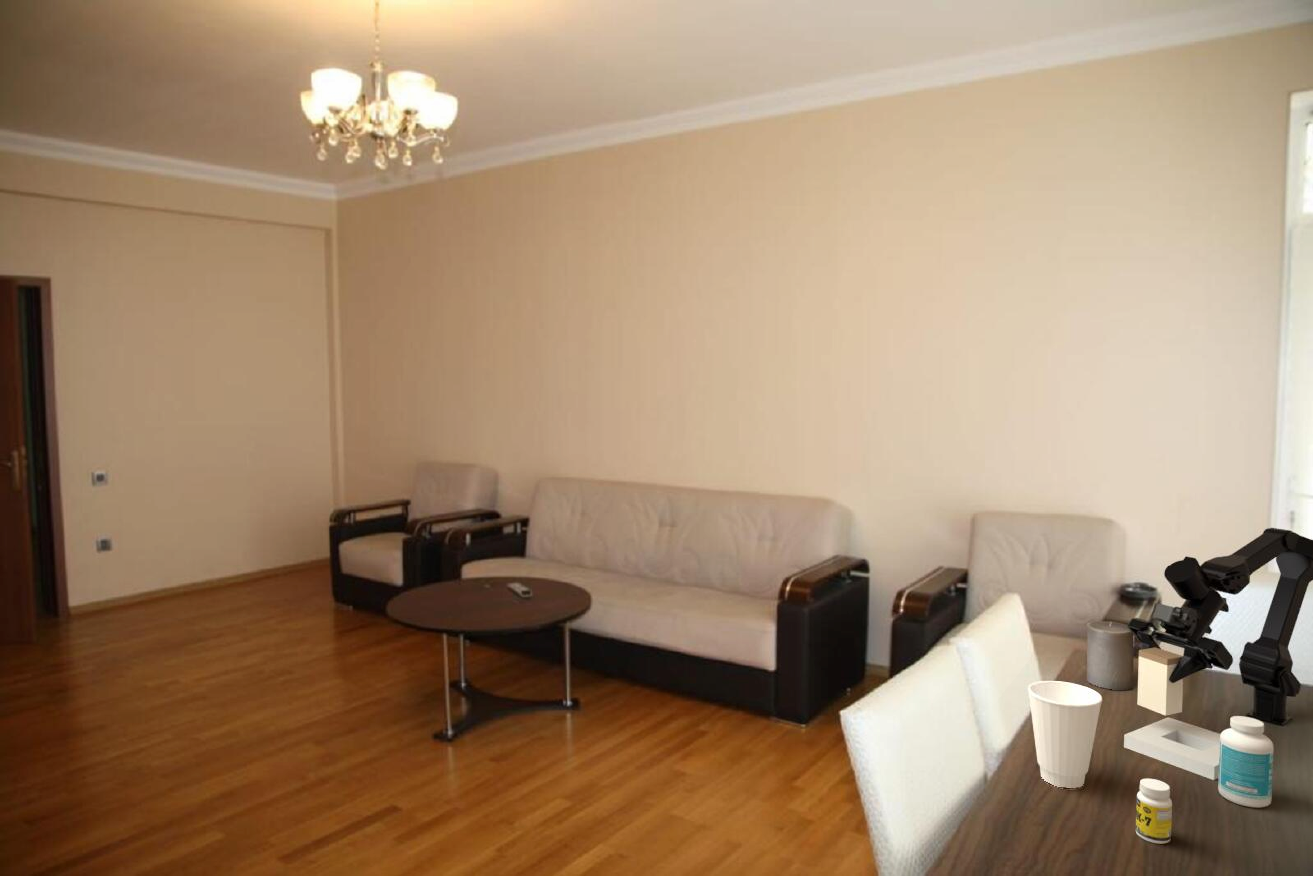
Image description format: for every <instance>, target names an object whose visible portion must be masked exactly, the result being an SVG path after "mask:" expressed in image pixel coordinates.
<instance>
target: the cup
mask: <svg viewBox="0 0 1313 876" xmlns="http://www.w3.org/2000/svg"><path fill="white" fill-rule="evenodd" d="M1027 692H1028V695H1029V696H1028V697H1029V704H1030V712H1031V721H1032V729H1033V736H1034V744H1035V752H1036V753H1035V754H1036V760H1037V761H1036V762H1037V764H1038V766H1039V771H1040V777H1042V778H1041V780H1042V779H1044V781H1046V782H1048V783H1050V784H1052V785H1054V786H1053V787H1055V786H1057V787H1056V788H1058V787H1066V788H1076V787H1081V786H1083V787H1084V785H1085V779H1086V774H1087V773H1088V772H1089V768H1090V762H1091V757H1092V753H1093V747H1094V742H1095V739H1096V738H1095V737H1096V733H1097V731H1096V730H1097V726H1098V721H1099V717H1100V710H1101V705H1102V702H1103V697H1102V695H1101V694H1100V693H1099V692H1097V691H1096V690H1094V689H1092V688H1090V687H1087V686H1083V685H1081V684H1076V683H1073V682H1067V681H1058V680H1041V681H1035V682H1033V683H1031V684H1029V686H1028V687H1027ZM1044 781H1043V782H1044ZM1046 782H1045V783H1046ZM1048 783H1047V784H1048ZM1083 784H1084V785H1083ZM1052 785H1051V786H1052ZM1081 788H1082V787H1081Z"/></svg>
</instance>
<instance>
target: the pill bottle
mask: <svg viewBox="0 0 1313 876" xmlns="http://www.w3.org/2000/svg"><path fill="white" fill-rule="evenodd" d="M1229 722H1230V723H1229V725H1230V727H1229V728H1226V729H1224V730H1223V731H1222V732H1220V734H1221V735H1220V752H1219V778H1218V779H1217V780H1218V781H1217V782H1218V784H1217V785H1218V786H1217V787H1218V788H1217V790H1218V792H1219V794H1220V795H1221V796H1222V797H1223V798H1224V799H1226V800H1227V801H1230V802H1232V803H1234V804H1236V805H1239V806H1245V807H1248V808H1266V807H1268V806H1270V805H1271V803H1272V796H1273V795H1272V794H1273V792H1272V791H1273V773H1274V772H1273V771H1274V770H1273V768H1274V766H1273V765H1274V750H1275V749H1274V747H1275V746H1274V743H1273V742H1272V740H1271V739H1270V738H1269V737H1268V736H1266V735H1265V734H1264V732H1265V723H1264V722H1263V721H1262V720H1260V719H1256V718H1253V717H1249V716H1245V715H1244V716H1241V715H1233V716H1231V717H1230V720H1229Z"/></svg>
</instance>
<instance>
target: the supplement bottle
mask: <svg viewBox="0 0 1313 876" xmlns="http://www.w3.org/2000/svg"><path fill="white" fill-rule="evenodd" d="M1138 789H1139V791H1138V792H1137V794H1136V804H1135V805H1136V808H1135V809H1136V810H1135V832H1136V835H1137V836H1138V837H1139V838H1141V839H1143V840H1145V841H1147V842H1149V843H1153V844H1161V845H1162V844H1163V845H1164V844H1167V843H1169V842H1170V841H1171V837H1172V819H1173V818H1172V817H1173V816H1172V815H1173V801H1172V799H1171V797H1170V796H1171V787H1170V785H1169V784H1167V783H1166V782H1164V781H1161V780H1159V779H1154V778H1142V779H1140V782H1139V788H1138Z"/></svg>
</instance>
